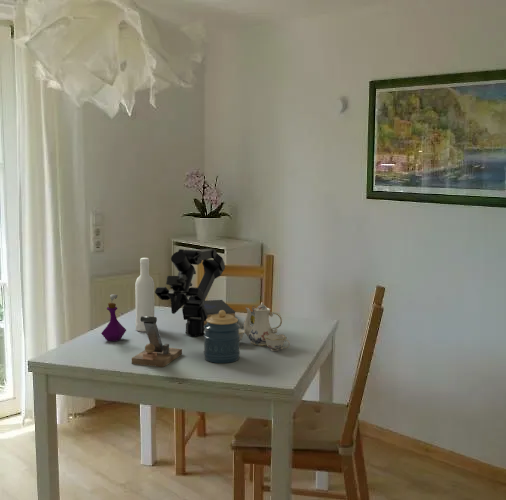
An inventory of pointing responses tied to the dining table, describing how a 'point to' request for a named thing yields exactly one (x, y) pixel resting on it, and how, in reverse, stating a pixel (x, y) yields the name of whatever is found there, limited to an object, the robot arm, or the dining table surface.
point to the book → (217, 308)
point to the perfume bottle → (113, 324)
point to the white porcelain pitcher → (251, 318)
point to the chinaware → (263, 329)
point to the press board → (159, 358)
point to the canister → (221, 338)
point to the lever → (152, 332)
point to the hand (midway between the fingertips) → (173, 313)
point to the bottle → (144, 294)
